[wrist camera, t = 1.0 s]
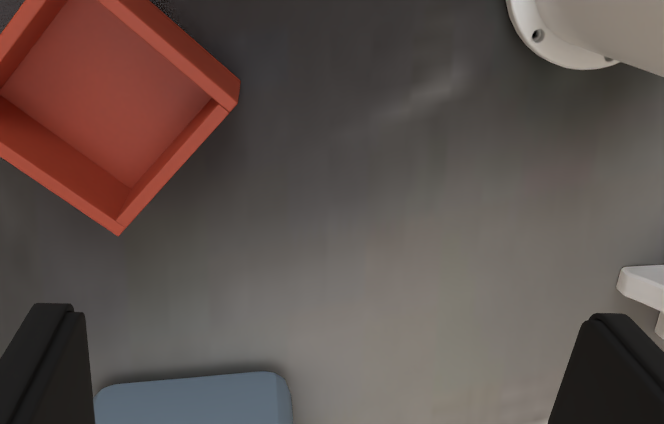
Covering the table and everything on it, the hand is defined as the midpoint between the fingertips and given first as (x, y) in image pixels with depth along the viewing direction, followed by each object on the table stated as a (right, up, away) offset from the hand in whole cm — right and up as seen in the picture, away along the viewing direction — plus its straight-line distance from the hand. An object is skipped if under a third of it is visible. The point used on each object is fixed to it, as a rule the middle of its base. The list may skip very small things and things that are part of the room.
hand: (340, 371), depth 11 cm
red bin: (-14, +11, +27) cm, 33 cm away
